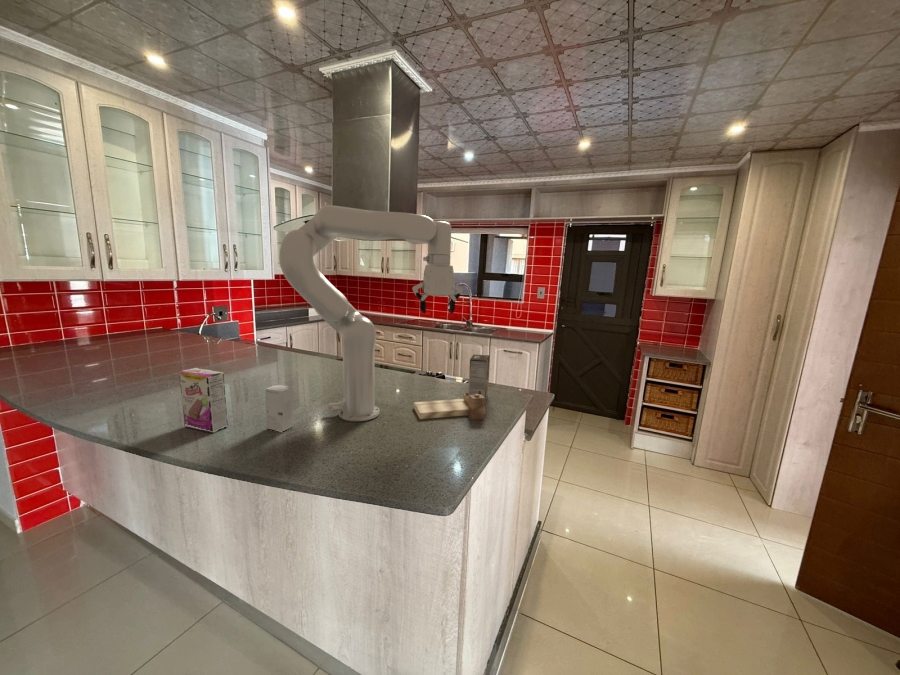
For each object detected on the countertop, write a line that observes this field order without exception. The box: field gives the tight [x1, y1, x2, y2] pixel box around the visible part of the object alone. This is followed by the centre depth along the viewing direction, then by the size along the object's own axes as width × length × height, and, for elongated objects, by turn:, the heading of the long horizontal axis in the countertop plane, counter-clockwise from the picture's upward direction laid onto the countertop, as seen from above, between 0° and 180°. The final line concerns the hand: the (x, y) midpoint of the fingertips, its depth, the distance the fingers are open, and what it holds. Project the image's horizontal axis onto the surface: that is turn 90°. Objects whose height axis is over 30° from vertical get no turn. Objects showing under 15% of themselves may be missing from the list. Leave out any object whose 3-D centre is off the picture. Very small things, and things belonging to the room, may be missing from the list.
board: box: [413, 398, 486, 420], centre depth 116 cm, size 22×10×2 cm, turn 107°
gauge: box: [462, 391, 486, 421], centre depth 114 cm, size 4×12×8 cm, turn 16°
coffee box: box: [468, 354, 490, 403], centre depth 127 cm, size 9×6×16 cm
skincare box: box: [265, 384, 294, 431], centre depth 97 cm, size 6×4×12 cm
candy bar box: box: [178, 367, 229, 431], centre depth 96 cm, size 11×5×16 cm, turn 71°
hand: (437, 312), depth 116 cm, fingers open, 9 cm apart
